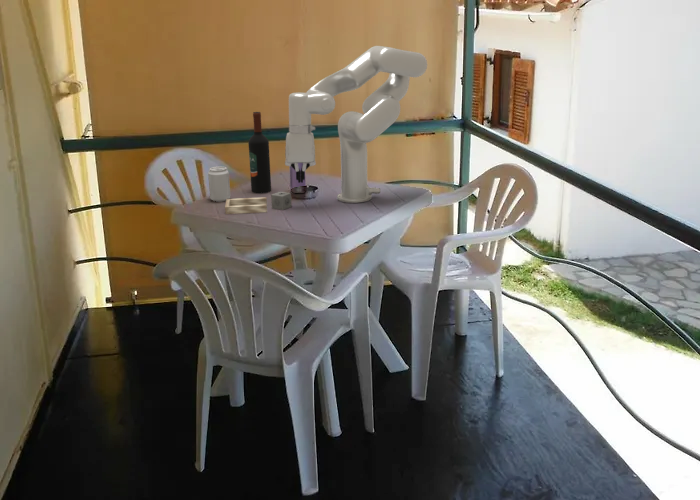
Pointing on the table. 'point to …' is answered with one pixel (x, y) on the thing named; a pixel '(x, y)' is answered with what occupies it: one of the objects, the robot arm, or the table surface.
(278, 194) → the dice cube
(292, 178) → the beverage can
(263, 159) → the wine bottle
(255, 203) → the bay
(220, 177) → the can
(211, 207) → the table surface
